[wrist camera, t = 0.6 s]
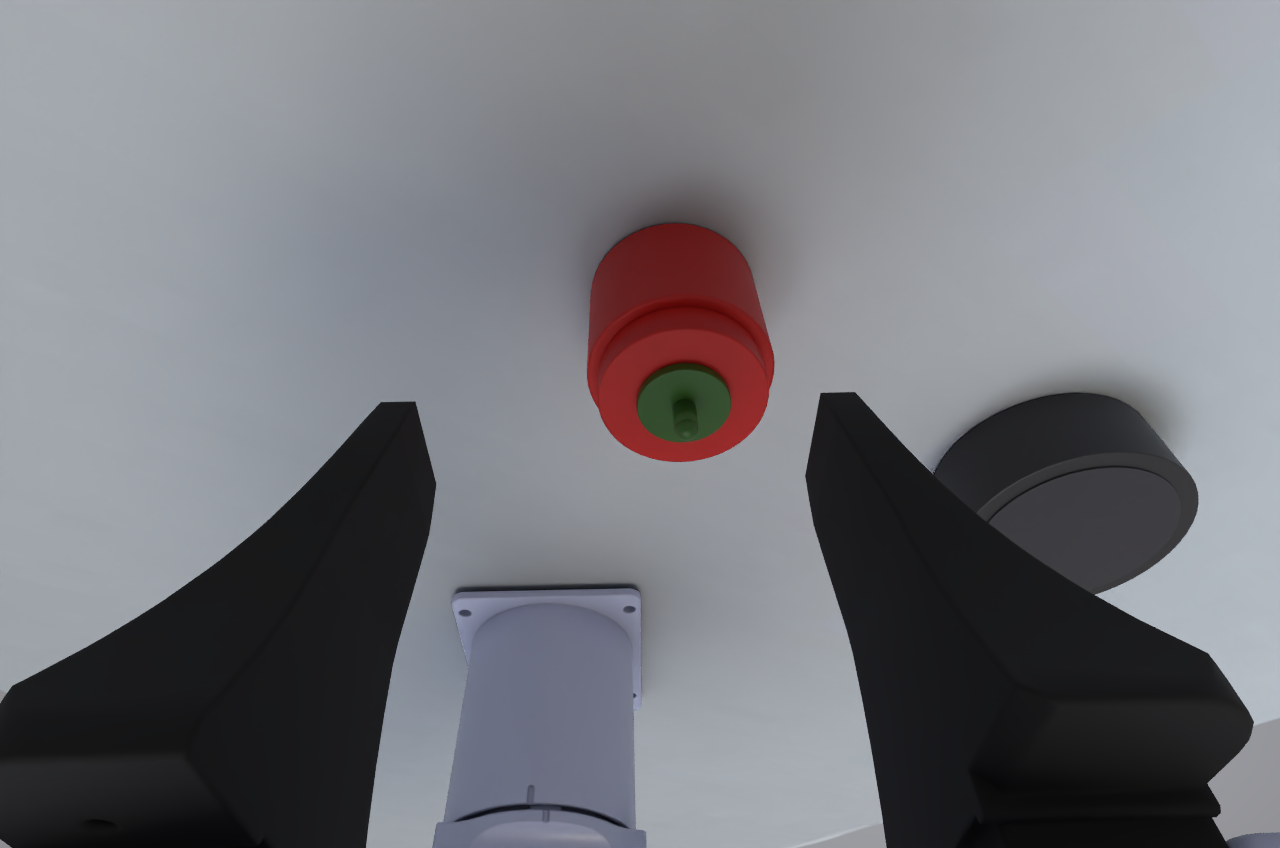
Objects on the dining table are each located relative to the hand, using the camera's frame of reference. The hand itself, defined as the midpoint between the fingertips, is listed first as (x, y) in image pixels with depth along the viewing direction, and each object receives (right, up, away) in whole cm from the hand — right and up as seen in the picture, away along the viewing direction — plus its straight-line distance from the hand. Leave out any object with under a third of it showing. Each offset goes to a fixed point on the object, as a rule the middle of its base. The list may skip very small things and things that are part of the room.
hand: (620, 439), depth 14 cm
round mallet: (+15, -8, +21) cm, 27 cm away
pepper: (+1, +4, +9) cm, 10 cm away
